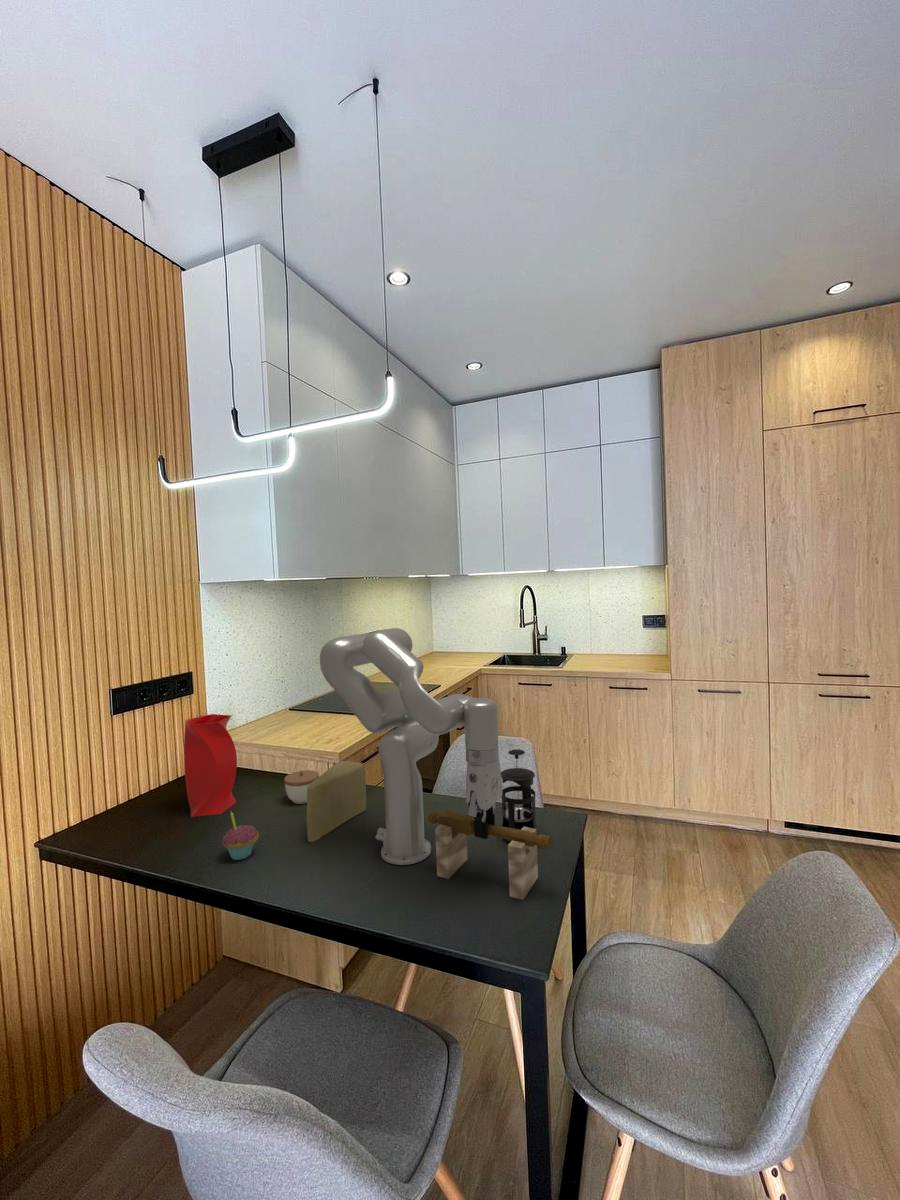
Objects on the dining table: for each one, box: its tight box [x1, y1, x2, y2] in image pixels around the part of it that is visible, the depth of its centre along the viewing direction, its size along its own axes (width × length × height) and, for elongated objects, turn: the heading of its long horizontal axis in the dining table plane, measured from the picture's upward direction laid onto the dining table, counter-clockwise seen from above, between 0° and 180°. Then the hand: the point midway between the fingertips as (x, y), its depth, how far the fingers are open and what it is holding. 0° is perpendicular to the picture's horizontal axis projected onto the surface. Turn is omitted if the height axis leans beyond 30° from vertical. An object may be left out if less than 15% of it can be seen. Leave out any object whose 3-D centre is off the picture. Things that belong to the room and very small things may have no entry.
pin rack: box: [434, 812, 539, 901], centre depth 116 cm, size 21×9×11 cm, turn 61°
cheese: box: [306, 760, 367, 843], centre depth 145 cm, size 22×10×15 cm, turn 159°
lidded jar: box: [283, 769, 320, 805], centre depth 163 cm, size 11×11×9 cm
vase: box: [183, 713, 238, 818], centre depth 159 cm, size 15×14×28 cm
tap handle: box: [428, 810, 552, 851], centre depth 115 cm, size 3×3×30 cm
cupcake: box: [221, 810, 260, 861], centre depth 130 cm, size 9×8×12 cm
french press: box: [500, 749, 538, 845], centre depth 133 cm, size 12×9×23 cm
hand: (484, 832), depth 116 cm, fingers closed on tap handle, 3 cm apart
